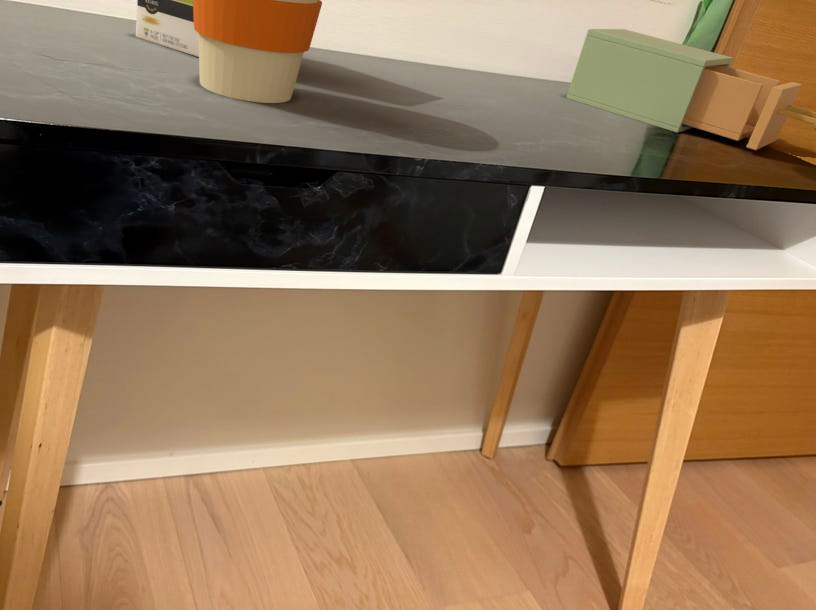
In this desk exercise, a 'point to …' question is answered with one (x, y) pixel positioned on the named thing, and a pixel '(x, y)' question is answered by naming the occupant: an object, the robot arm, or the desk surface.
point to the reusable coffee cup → (253, 46)
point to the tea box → (168, 24)
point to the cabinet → (640, 76)
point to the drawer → (744, 105)
